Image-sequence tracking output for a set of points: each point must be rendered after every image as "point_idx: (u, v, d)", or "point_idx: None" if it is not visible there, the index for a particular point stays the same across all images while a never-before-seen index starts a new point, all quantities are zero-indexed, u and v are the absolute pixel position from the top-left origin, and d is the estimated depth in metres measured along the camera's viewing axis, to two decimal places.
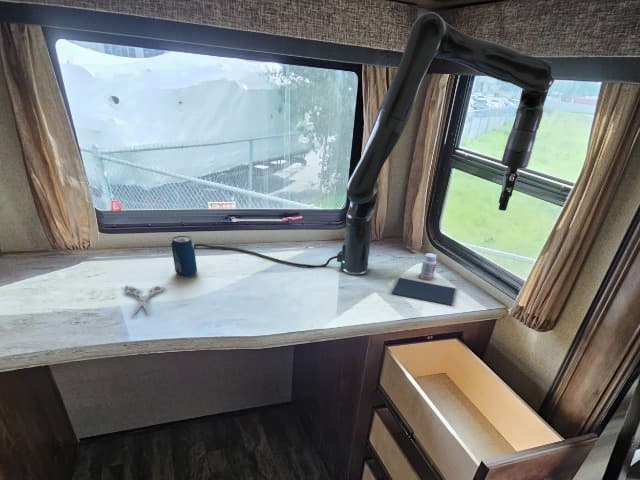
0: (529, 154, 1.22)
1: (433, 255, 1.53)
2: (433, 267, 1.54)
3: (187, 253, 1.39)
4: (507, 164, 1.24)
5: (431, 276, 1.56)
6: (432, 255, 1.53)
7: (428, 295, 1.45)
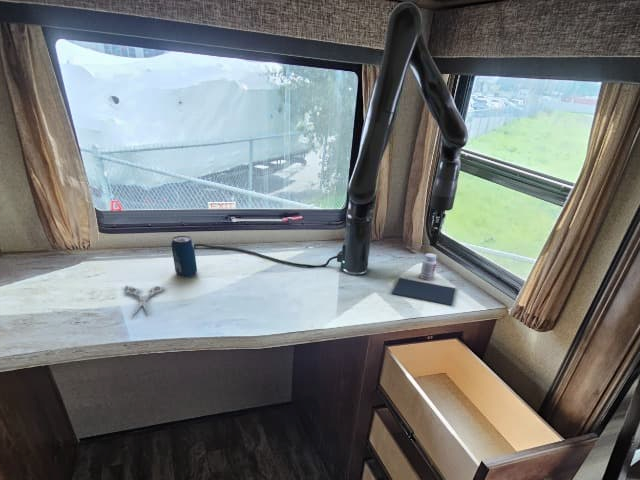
0: (452, 199, 1.39)
1: (433, 255, 1.53)
2: (433, 267, 1.54)
3: (187, 253, 1.39)
4: (434, 207, 1.41)
5: (431, 276, 1.56)
6: (432, 255, 1.53)
7: (428, 295, 1.45)
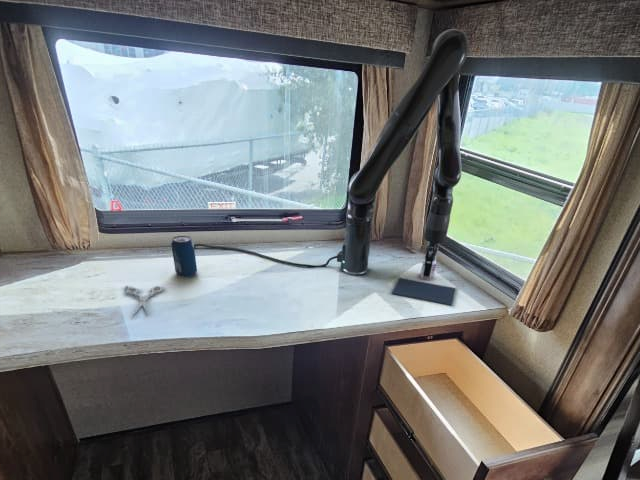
0: (444, 232, 1.46)
1: None
2: (433, 267, 1.54)
3: (187, 253, 1.39)
4: (427, 240, 1.48)
5: (431, 276, 1.56)
6: None
7: (428, 295, 1.45)
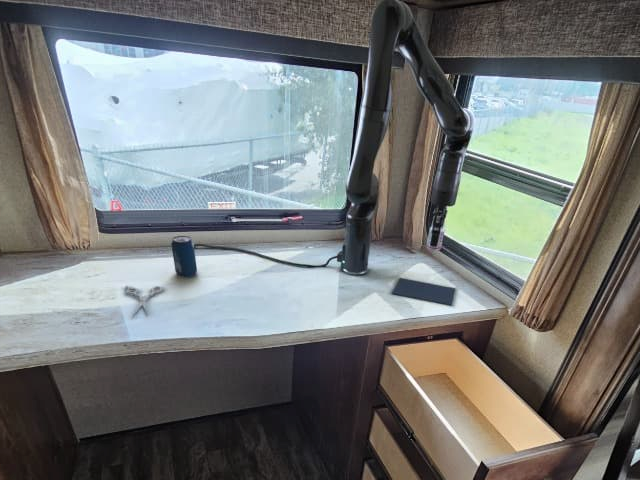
0: (454, 194, 1.27)
1: None
2: (441, 235, 1.36)
3: (187, 253, 1.39)
4: (435, 203, 1.29)
5: (439, 246, 1.38)
6: None
7: (428, 295, 1.45)
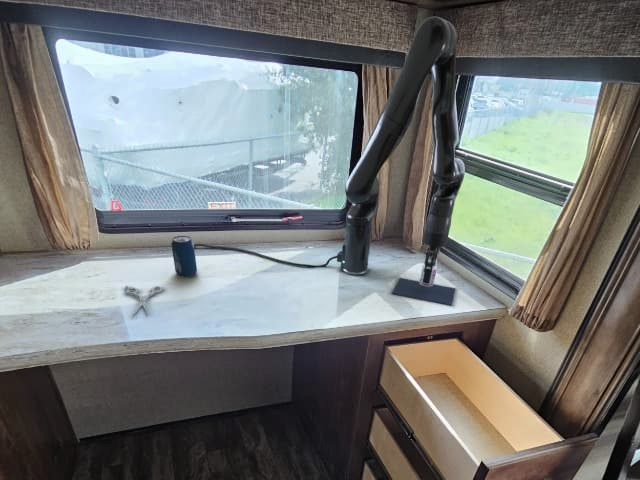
0: (445, 235, 1.34)
1: None
2: (433, 273, 1.42)
3: (187, 253, 1.39)
4: (427, 243, 1.36)
5: (431, 283, 1.44)
6: None
7: (428, 295, 1.45)
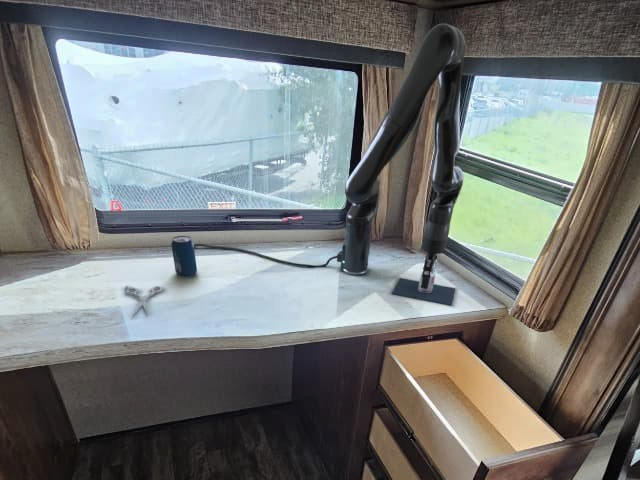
0: (444, 242, 1.35)
1: None
2: (432, 280, 1.43)
3: (187, 253, 1.39)
4: (425, 250, 1.37)
5: (430, 289, 1.45)
6: None
7: (428, 295, 1.45)
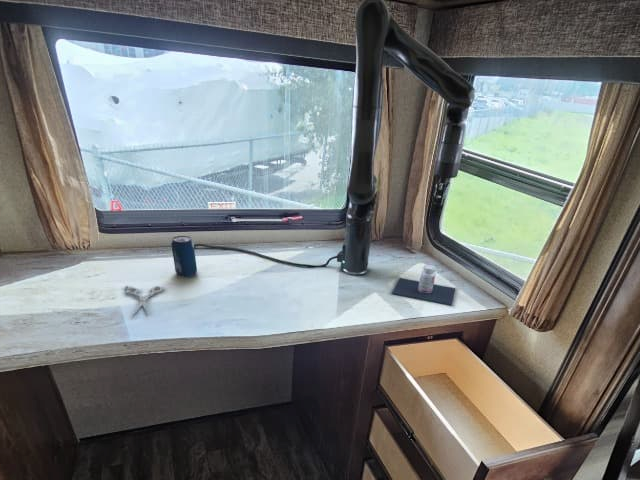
0: (456, 165, 1.32)
1: (432, 267, 1.43)
2: (432, 280, 1.43)
3: (187, 253, 1.39)
4: (437, 174, 1.34)
5: (430, 289, 1.45)
6: (431, 267, 1.42)
7: (428, 295, 1.45)
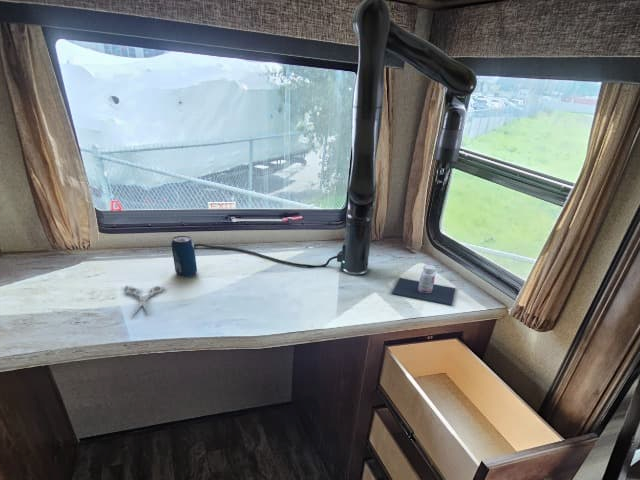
0: (457, 151, 1.36)
1: (432, 267, 1.43)
2: (432, 280, 1.43)
3: (187, 253, 1.39)
4: (438, 160, 1.38)
5: (430, 289, 1.45)
6: (431, 267, 1.42)
7: (428, 295, 1.45)
